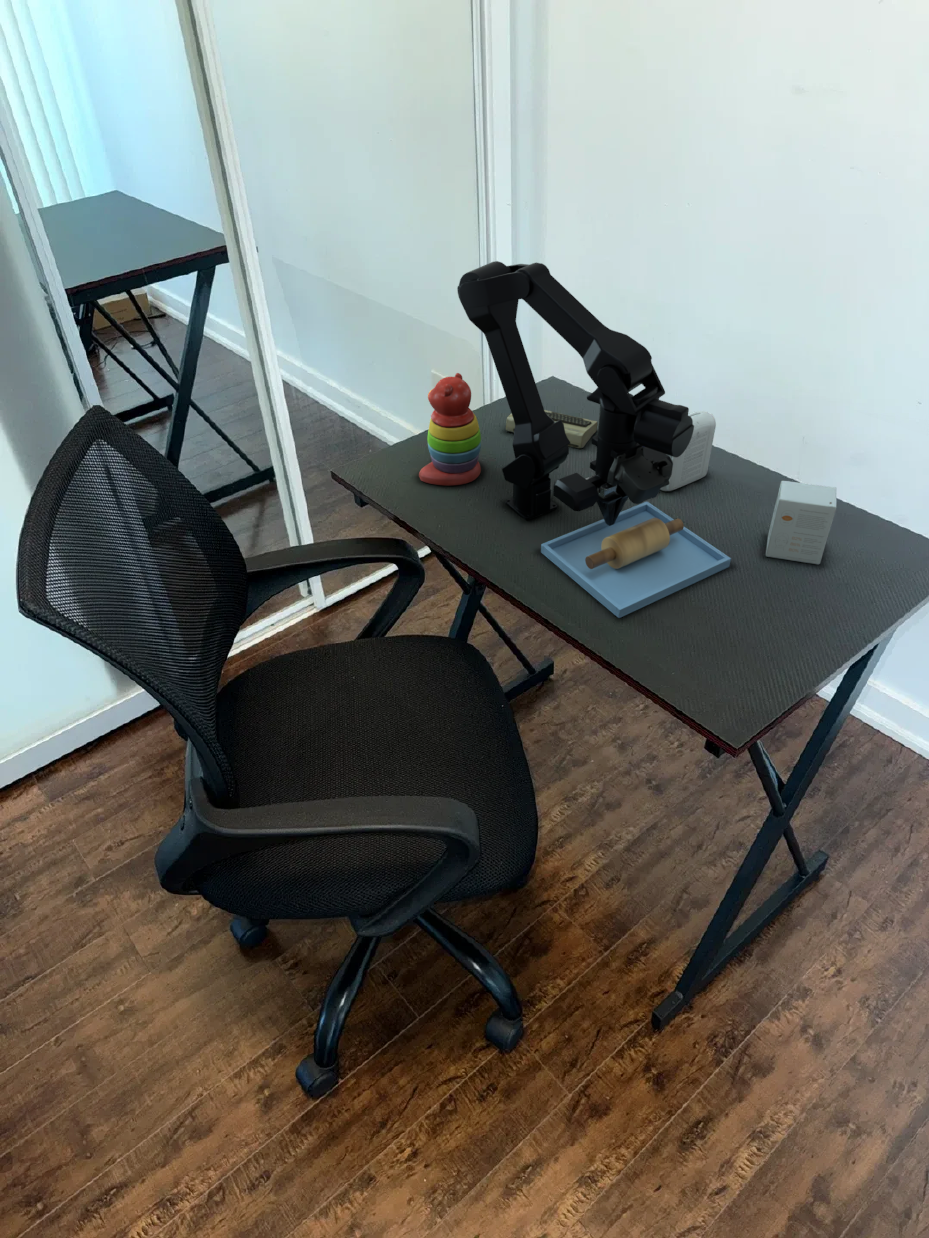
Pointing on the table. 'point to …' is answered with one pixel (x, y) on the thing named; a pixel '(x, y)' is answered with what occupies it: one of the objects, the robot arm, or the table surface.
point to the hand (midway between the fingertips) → (609, 524)
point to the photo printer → (694, 452)
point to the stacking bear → (452, 435)
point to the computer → (567, 427)
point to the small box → (801, 522)
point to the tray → (643, 577)
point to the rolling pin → (634, 543)
